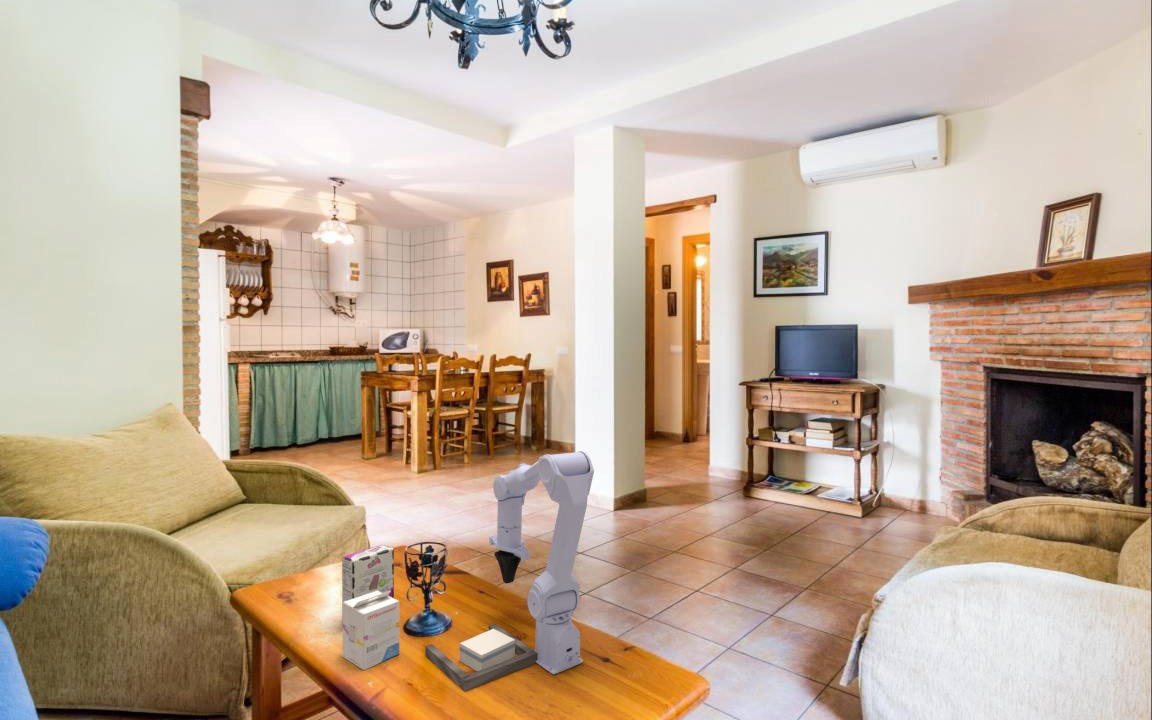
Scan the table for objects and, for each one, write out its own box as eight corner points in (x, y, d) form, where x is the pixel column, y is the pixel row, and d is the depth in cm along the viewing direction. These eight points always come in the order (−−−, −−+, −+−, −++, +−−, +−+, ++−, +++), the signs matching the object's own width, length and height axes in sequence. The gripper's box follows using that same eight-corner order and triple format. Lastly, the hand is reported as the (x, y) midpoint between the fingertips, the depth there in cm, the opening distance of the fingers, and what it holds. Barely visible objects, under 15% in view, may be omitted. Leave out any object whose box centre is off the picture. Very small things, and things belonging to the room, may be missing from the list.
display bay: (537, 662, 126) (537, 653, 126) (464, 691, 115) (465, 680, 115) (494, 632, 139) (494, 623, 139) (425, 655, 128) (425, 645, 128)
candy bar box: (382, 609, 149) (382, 543, 149) (394, 615, 146) (395, 548, 146) (340, 626, 140) (341, 555, 140) (352, 632, 137) (353, 560, 137)
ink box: (377, 641, 133) (378, 581, 133) (400, 654, 128) (401, 591, 128) (341, 657, 127) (341, 593, 126) (363, 671, 121) (363, 605, 121)
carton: (515, 658, 128) (515, 639, 128) (481, 675, 121) (481, 655, 121) (493, 646, 133) (493, 628, 133) (459, 662, 126) (459, 643, 126)
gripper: (541, 529, 141) (540, 587, 141) (506, 515, 152) (505, 569, 152) (516, 535, 136) (514, 595, 137) (482, 519, 147) (481, 575, 148)
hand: (508, 581), depth 144 cm, fingers closed
